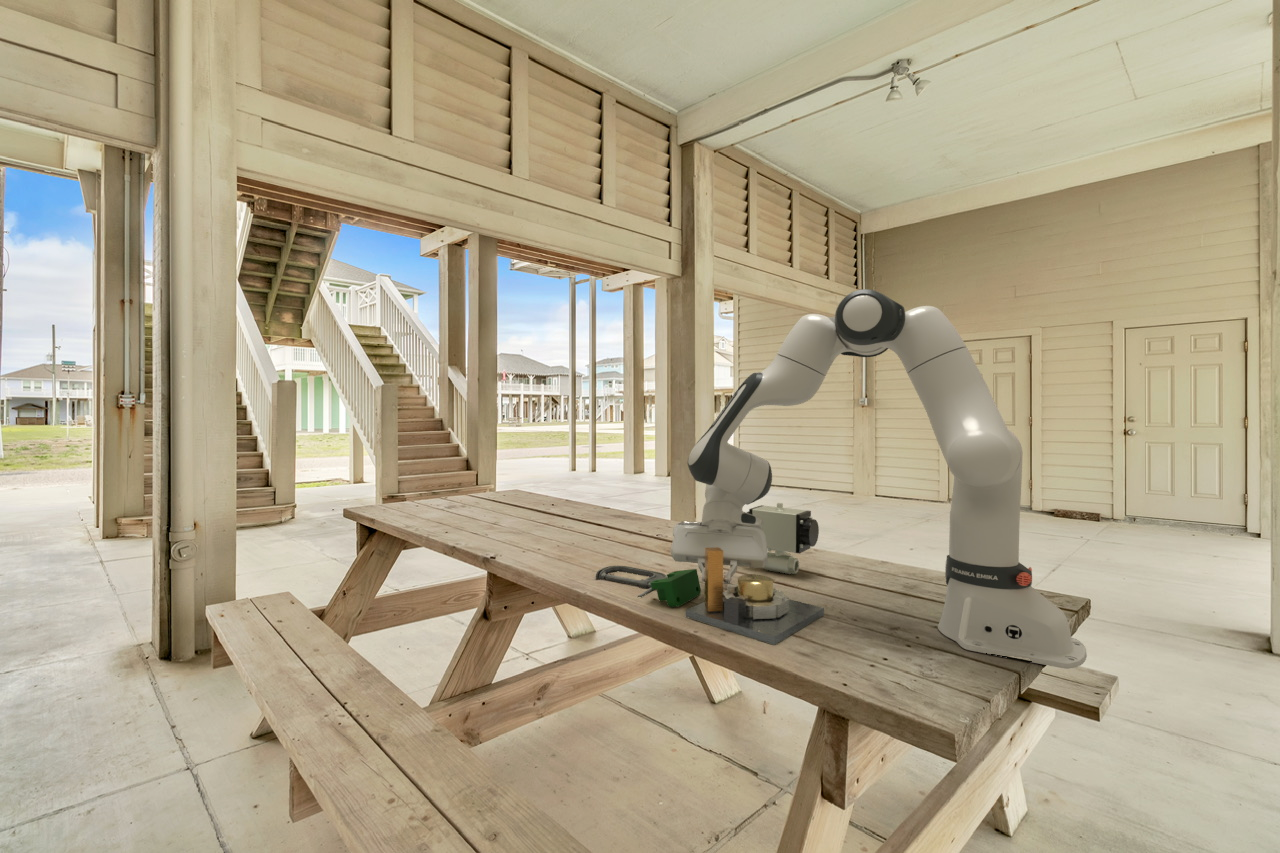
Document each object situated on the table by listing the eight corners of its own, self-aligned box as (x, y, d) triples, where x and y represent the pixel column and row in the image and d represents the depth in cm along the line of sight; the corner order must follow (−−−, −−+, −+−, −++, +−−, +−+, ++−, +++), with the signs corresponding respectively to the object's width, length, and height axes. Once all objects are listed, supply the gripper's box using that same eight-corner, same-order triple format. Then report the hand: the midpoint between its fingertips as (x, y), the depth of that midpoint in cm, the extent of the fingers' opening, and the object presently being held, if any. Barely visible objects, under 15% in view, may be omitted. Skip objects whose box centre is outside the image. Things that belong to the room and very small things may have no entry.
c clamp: (683, 581, 141) (683, 570, 141) (640, 600, 127) (640, 588, 127) (619, 567, 153) (619, 557, 153) (574, 583, 140) (574, 572, 140)
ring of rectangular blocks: (775, 596, 123) (775, 540, 122) (795, 617, 111) (796, 555, 110) (700, 598, 121) (700, 542, 121) (713, 620, 109) (713, 557, 109)
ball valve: (820, 573, 146) (821, 504, 145) (808, 582, 139) (808, 509, 138) (755, 562, 157) (756, 497, 156) (741, 569, 150) (741, 501, 149)
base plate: (824, 615, 117) (824, 578, 117) (774, 645, 102) (774, 603, 102) (740, 593, 130) (740, 560, 130) (685, 617, 116) (685, 580, 115)
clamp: (678, 613, 130) (678, 572, 134) (700, 611, 127) (700, 570, 131) (647, 605, 122) (648, 562, 126) (670, 604, 118) (671, 560, 122)
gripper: (673, 512, 126) (663, 570, 117) (768, 518, 121) (766, 578, 112) (676, 528, 131) (667, 584, 122) (768, 534, 126) (766, 593, 117)
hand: (716, 581), depth 117 cm, fingers open, 3 cm apart
